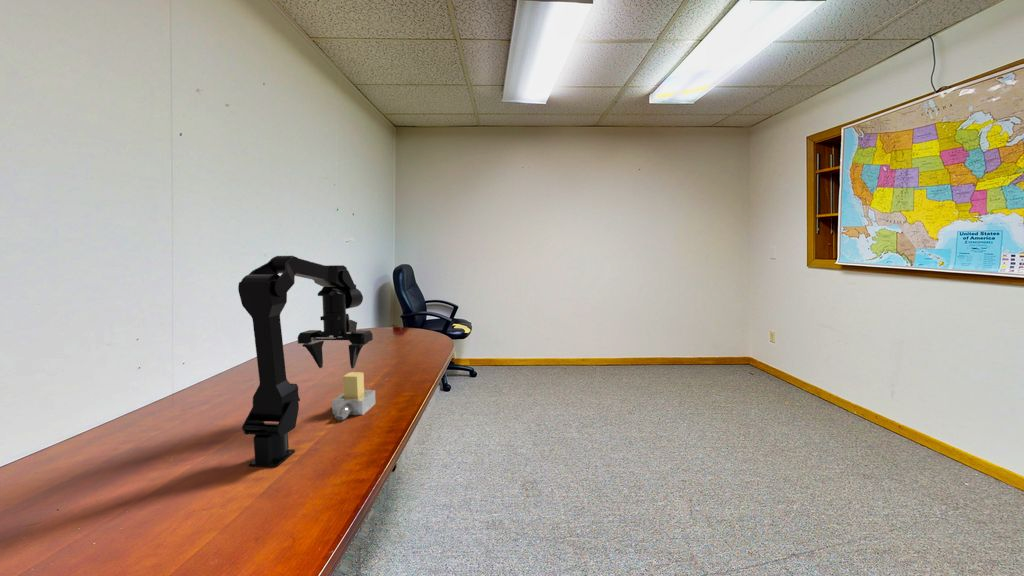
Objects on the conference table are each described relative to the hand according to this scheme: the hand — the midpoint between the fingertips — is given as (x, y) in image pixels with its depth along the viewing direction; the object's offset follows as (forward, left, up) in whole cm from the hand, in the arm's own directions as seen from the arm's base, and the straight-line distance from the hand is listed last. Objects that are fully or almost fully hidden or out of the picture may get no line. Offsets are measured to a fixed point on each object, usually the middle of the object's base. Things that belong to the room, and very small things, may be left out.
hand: (336, 367), depth 110 cm
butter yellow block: (+3, -3, -13) cm, 13 cm away
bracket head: (+3, -3, -13) cm, 13 cm away
